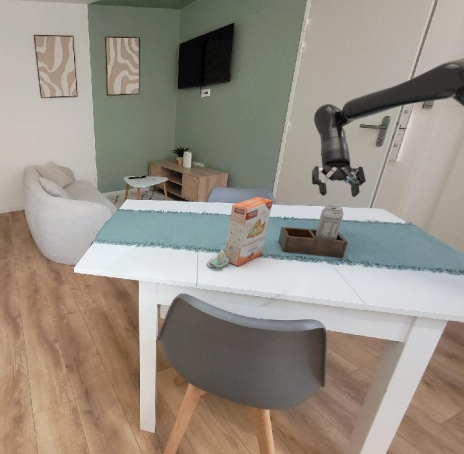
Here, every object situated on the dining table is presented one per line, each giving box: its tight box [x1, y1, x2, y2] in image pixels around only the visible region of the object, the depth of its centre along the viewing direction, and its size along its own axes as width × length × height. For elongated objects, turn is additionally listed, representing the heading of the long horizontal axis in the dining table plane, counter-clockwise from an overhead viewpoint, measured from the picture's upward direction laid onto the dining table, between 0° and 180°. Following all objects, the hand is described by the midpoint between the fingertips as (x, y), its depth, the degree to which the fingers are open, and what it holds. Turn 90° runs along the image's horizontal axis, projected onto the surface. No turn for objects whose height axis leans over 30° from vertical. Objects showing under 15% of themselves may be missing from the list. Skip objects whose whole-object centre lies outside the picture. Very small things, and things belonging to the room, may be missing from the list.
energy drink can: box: [315, 205, 344, 240], centre depth 102 cm, size 6×6×15 cm
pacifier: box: [206, 249, 229, 269], centre depth 98 cm, size 7×6×6 cm
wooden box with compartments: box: [278, 226, 349, 259], centre depth 105 cm, size 18×10×6 cm, turn 71°
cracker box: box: [224, 196, 274, 267], centre depth 99 cm, size 14×6×21 cm, turn 122°
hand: (339, 195), depth 96 cm, fingers open, 8 cm apart
